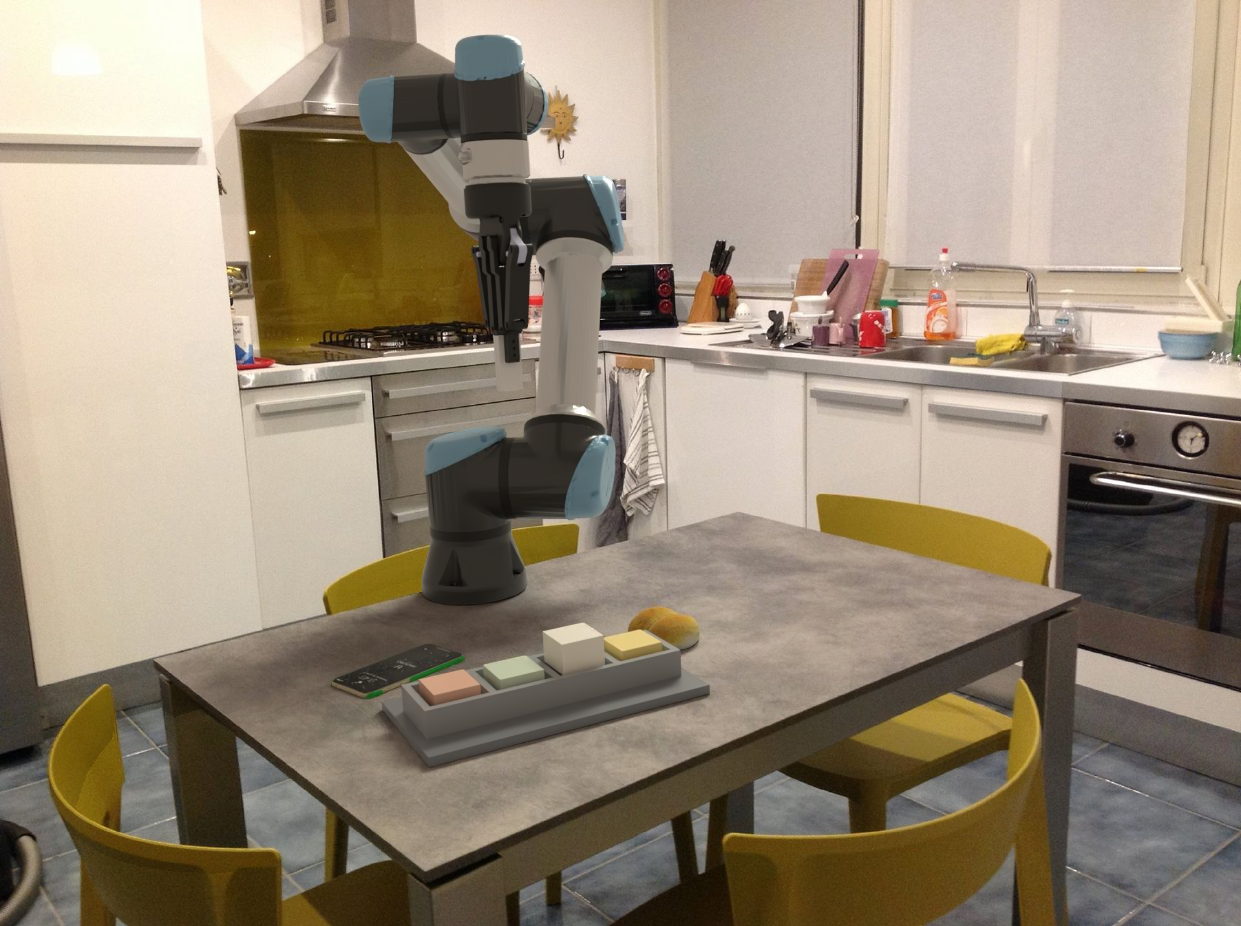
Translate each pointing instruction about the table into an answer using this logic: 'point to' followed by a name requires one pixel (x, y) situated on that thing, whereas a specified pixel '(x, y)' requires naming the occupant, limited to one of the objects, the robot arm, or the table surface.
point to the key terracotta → (448, 687)
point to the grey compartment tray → (540, 704)
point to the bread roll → (667, 626)
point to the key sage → (512, 672)
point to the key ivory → (573, 648)
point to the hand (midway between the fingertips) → (510, 390)
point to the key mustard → (631, 645)
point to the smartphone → (397, 670)
